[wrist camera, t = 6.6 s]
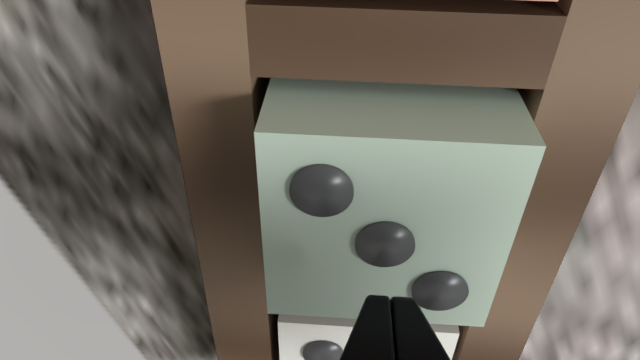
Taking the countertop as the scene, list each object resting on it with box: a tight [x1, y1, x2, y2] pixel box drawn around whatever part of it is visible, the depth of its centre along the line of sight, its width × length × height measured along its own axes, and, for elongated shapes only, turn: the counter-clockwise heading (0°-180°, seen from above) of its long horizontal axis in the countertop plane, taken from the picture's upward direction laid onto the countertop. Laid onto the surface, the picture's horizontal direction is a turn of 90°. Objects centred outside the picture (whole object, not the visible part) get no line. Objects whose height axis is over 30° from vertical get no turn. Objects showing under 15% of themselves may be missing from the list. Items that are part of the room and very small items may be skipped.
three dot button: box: [254, 78, 546, 327], centre depth 11 cm, size 5×5×3 cm
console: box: [150, 0, 640, 360], centre depth 13 cm, size 22×9×3 cm, turn 179°
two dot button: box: [278, 314, 460, 360], centre depth 17 cm, size 5×5×3 cm
